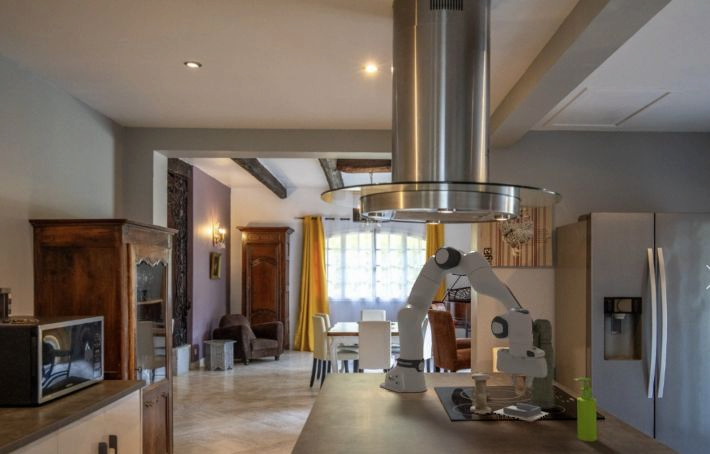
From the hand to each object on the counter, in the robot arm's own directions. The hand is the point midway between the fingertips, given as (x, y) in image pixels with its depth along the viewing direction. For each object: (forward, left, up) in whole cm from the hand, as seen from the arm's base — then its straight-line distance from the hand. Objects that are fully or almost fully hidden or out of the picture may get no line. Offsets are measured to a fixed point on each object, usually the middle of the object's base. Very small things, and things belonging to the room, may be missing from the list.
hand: (521, 386), depth 229 cm
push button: (-27, +15, -11) cm, 33 cm away
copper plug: (0, 0, -3) cm, 3 cm away
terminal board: (0, 0, -11) cm, 11 cm away
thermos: (0, +17, -11) cm, 20 cm away
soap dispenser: (+31, -13, -11) cm, 35 cm away
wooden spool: (-13, -8, -11) cm, 19 cm away
